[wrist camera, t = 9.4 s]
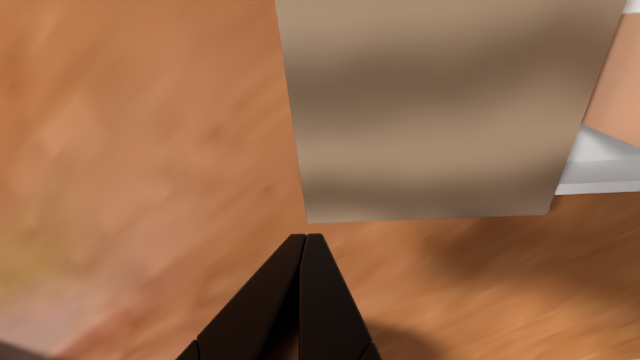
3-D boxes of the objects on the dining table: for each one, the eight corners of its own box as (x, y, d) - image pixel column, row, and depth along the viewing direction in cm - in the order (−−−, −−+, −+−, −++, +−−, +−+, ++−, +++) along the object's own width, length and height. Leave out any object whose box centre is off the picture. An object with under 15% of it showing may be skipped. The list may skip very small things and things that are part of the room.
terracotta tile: (557, 114, 16) (594, 112, 16) (637, 147, 12) (689, 145, 12) (592, 15, 14) (637, 11, 14) (710, 10, 9) (776, 6, 9)
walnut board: (513, 184, 19) (546, 214, 16) (312, 193, 20) (307, 223, 17) (609, -154, 11) (708, -219, 8) (274, -102, 13) (254, -141, 10)
